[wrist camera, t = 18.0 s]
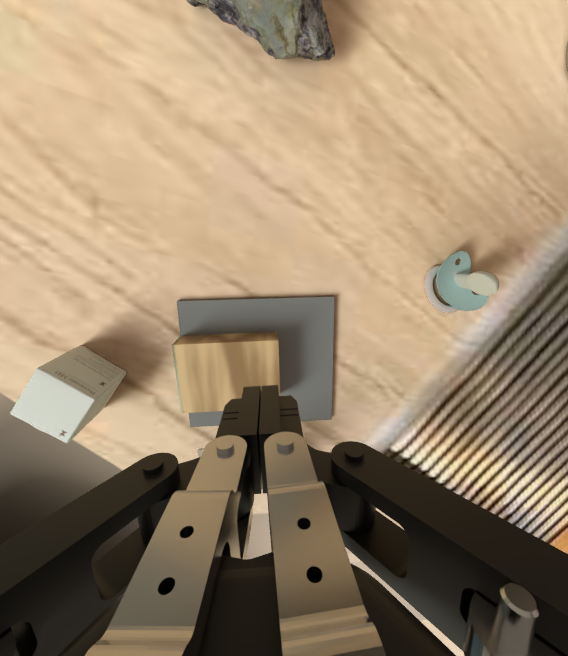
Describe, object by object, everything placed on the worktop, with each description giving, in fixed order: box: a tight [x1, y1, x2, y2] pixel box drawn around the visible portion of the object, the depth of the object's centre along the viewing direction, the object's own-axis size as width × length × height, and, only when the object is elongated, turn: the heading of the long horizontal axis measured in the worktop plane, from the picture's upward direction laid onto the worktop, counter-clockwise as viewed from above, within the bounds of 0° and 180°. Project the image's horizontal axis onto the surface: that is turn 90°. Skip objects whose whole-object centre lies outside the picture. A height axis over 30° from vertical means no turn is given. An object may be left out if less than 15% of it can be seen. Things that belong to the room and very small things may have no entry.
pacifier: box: [424, 251, 499, 313], centre depth 34 cm, size 7×6×6 cm
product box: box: [10, 345, 126, 443], centre depth 33 cm, size 6×6×7 cm
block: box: [172, 332, 280, 413], centre depth 35 cm, size 4×8×11 cm
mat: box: [177, 296, 334, 427], centre depth 37 cm, size 18×16×1 cm
